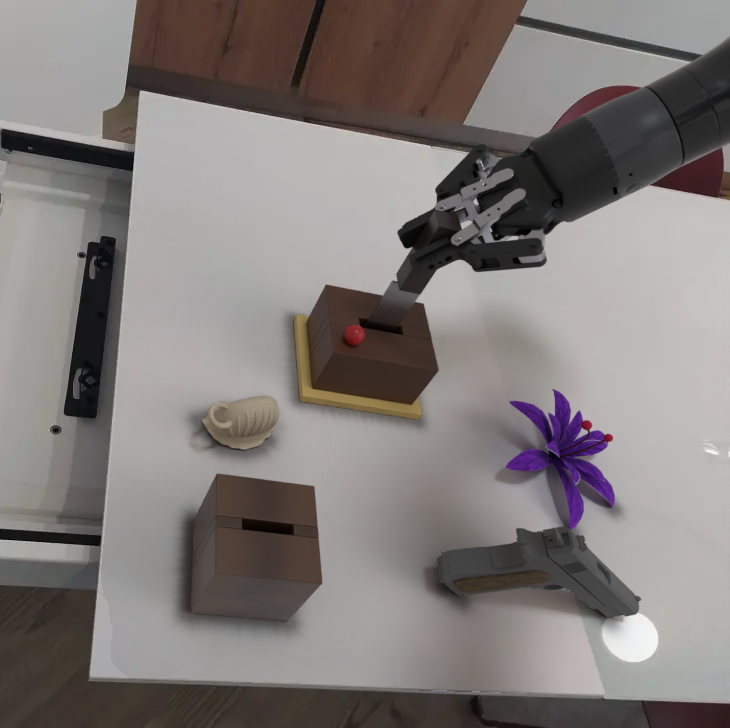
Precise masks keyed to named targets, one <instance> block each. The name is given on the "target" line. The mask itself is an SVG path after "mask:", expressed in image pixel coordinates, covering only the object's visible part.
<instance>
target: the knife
mask: <svg viewBox="0 0 730 728" xmlns="http://www.w3.org/2000/svg"><path fill="white" fill-rule="evenodd" d="M461 224H462V223H460V220H459V217H458V215H457V214H453V213H448V212H444V211H440V210H435V211H434V213H433V214H432V216H431V217H430V219H429V221H428V222H427V224H426V226H425V227H424V229H423V231H422V232H421V234H420V236H419V237H418V239H417V240H416V242H415V244H414V245H413V247H411V248H410V251H409V252H408V254H407V255H406V256H405V259H404V260H403V262H402V264H401V265H400V267H399V268H398V270H397V272H396V273H395V275H396V279H397V280H393V279H392V280H391V281H390V283H389V285H388V286H387V288H386V290H385V291H384V293H383V296H382V298H381V299H380V301H379V303H378V304H377V306H376V308H375V309H374V311H373V313H372V314H371V316H370V317H369V319H368V321H367V322H366V324H365V326H364V327H363V328H367V329H373V330H378V331H383V332H389V333H395V331H396V330H397V328H398V327H399V325H400V324H401V322H402V321H403V319H404V318H405V316H406V315H407V313H408V312H409V310H410V309H411V307H412V306H413V304H414V303H415V302H417V300H418V298H419V297H420V296H421V295H422V293H423V292H424V291H425V288H426V287H427V286H428V284H429V283H430V281H431V280H432V278H433V276H434V275H435V274H436V272H437V271H438V269H437V270H435V271H433V272H431V273H428V274H423V273H421V274H416V273H415V272H414V270H413V268H412V266H411V264H410V262H409V260H408V257H409V255H410V254H412V253H414V252H416V251H418V250H420V249H422V248H424V247H426V246H428V245H430V244H432V243H434V242H436V241H438V240H440V239H442V238H445V237H447V238H448V240H451V237H452V236H453V235H454V234H456V233H457V232H459V231H461V230H462V229H463V228H462V225H461Z"/></svg>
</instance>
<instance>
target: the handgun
mask: <svg viewBox="0 0 730 728" xmlns="http://www.w3.org/2000/svg"><path fill="white" fill-rule="evenodd" d="M515 532H516V541H514V542H511V543H505V544H497V545H490V546H475V547H474V546H473V547H464V548H455V549H449V550H446V551H440V555H438V557H436V564H437V571H438V577H439V578H438V579H439V583H440V584H444V585H445V586H446V587H448V589H450V590H451V591H452V592H453V593H454V594H456V596H458V597H459V598H463V597H464V596H465V597H469V596H474V595H480V594H489V593H495V592H503V591H509V590H510V591H511V590H517V589H532V590H537V589H540V590H544V591H551V592H552V591H553V592H554V591H559V590H564V589H565V590H566V591H569V592H570V593H572V594H573V595H574V596H575V597H577V599H579V600H580V601H582V602H583V604H585V605H587V606H588V607H589V608H590V609H592V610H598V611H599V612H600V613H601V614H603V615H604V616H605V617H606V618H615V617H620V616H624V617H625V618H626V617H631V616H635V615H637V614H638V613H639V610H640V603H639V602H641V601H642V598H641V596H639V595H636V594H635V593H634V592H633V591H632V590H631V588H629V587H628V585H626V584H625V583H624V582H623V581H622V580H621V579H620V578H619V577H618V576H617V575H616V574H615V572H613V571H612V570H611V569H610V568H609V567H608V566H607V565H606V564H605V563H604V562H603V561H602V560H601V559H600V558H599V557H598V556H597V555H596V554H595V553H594V552H593V551H592V550H591V549H590V548H589V547H588V545H587V543H585V542H586V537H585V536H584V535H581V534H580V535H579V534H576V533H574V531H573V530H571V529H570V528H569V527H567V526H565V525H563V526H557V527H551V528H546V529H542V530H538V531H531V530H528V529H526V528H523V527H517V528H516V529H515Z"/></svg>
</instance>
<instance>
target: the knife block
mask: <svg viewBox="0 0 730 728" xmlns="http://www.w3.org/2000/svg"><path fill="white" fill-rule="evenodd" d="M315 489H316V487H315V485H309V484H301V483H293V482H288V481H287V482H286V481H279V480H271V479H264V478H255V477H250V476H249V477H248V476H240V475H232V474H226V473H216V474H215V475H214V478H213V480H212V482H211V485H210V486H209V488H208V489H207V492H206V493H205V496H204V499H203V500H202V503H200V504H201V505H200V507H199V508H198V510H197V512H196V514H195V516H194V518H193V529H192V531H193V532H192V533H193V534H192V561H191V569H192V570H191V589H190V590H191V591H190V592H191V593H190V595H191V596H190V613H191V614H201V615H212V616H224V617H235V618H244V619H245V618H247V619H257V620H267V621H268V620H269V621H280V622H281V621H282V622H289V621H290V619H291V618H293V616H295V614H296V613H297V612H298V611H299V610H300V609H301V608H302V607H303V606H304V604H305V603H306V602H307V601H308V600H309V599H310V598H311V597H312V596H313V595H314V593H315V592H316V591H317V590H318V589H319V588H320V587H322V584H323V573H322V561H321V547H320V539H319V538H320V536H319V535H320V534H319V524H318V512H317V501H316V490H315Z"/></svg>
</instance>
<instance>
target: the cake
mask: <svg viewBox="0 0 730 728" xmlns="http://www.w3.org/2000/svg"><path fill="white" fill-rule="evenodd" d="M382 296H383V295H382V294H378V293H373V292H367V291H363V290H362V291H361V290H357V289H352V288H347V287H343V286H342V287H341V286H337V285H332V284H328V283H327V284H325V285H324V286H323V289H322V291H321V293H320V294H319V297H318V298H317V300H316V302H315V305H314V306H313V308H312V310H311V312H310V313H309V315H304V314H299V313H297V314H296V315H295V316H294V318H293V327H294V341H295V353H296V367H297V380H298V394H299V395H298V396H299V401H300V402H303V403H310V404H316V405H322V406H329V407H335V408H341V409H347V410H352V411H353V410H354V411H359V412H365V413H366V412H367V413H373V414H379V415H384V416H392V417H398V418H405V419H411V420H417V421H418V420H420V418H421V417H422V416H423V412H422V407H421V406H422V405H421V401H420V395H421V394H422V393H423V392H424V391H425V389H426V388H427V387H428V385H429V384H430V383H431V381H432V380H433V379H434V378H435V377H436V375H437V374H438V373H439V371H440V369H439V365H438V359H437V356H436V352H435V347H434V342H433V337H432V333H431V329H430V324H429V321H428V316H427V311H426V307H425V304H424V303H423V302H418V301H415V303H414V304H413V306H412V307H411V309H410V310H409V312H408V313H407V315H406V316H405V318H404V319H403V321H402V322H401V324H400V325H399V327H398V328H397V330H396V331H395V333H389V332H383V331H378V330H373V329H367V328H363V327H364V326H365V324H366V322H367V321H368V319H369V317H370V316H371V314H372V313H373V311H374V309H375V308H376V306H377V304H378V303H379V301H380V299H381V298H382Z"/></svg>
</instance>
